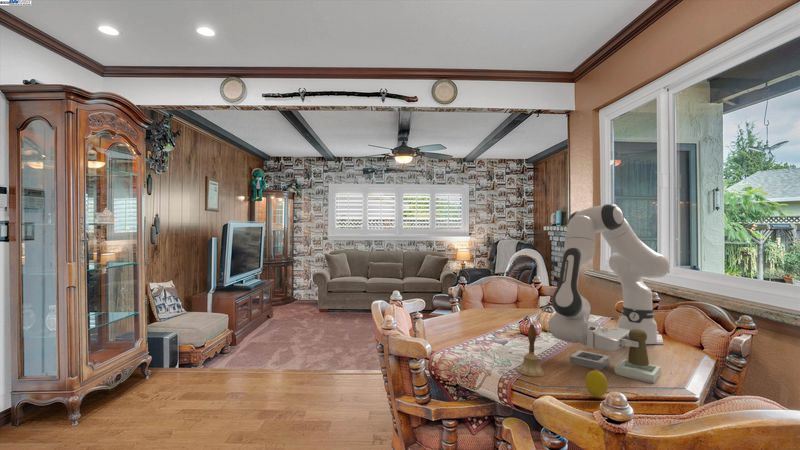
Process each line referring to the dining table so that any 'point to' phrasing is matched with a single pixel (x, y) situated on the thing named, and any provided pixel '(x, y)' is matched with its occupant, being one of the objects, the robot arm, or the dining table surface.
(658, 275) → the robot arm
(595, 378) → the lemon
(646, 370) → the sage tray
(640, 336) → the cork
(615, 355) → the dining table surface
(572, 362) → the grey square frame
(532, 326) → the hand bell
